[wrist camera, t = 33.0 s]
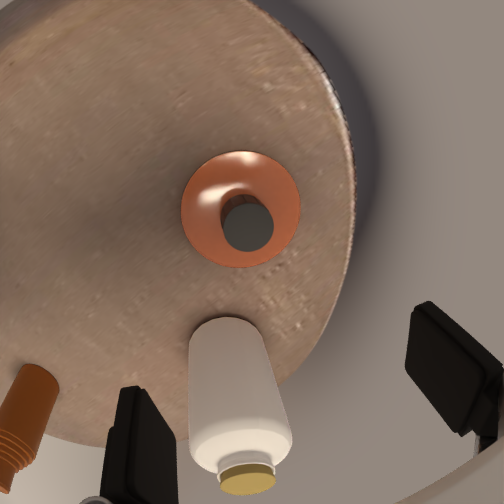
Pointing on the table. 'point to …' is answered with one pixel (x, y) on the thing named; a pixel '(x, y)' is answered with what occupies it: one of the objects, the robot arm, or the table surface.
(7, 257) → the table surface
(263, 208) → the cap
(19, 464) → the sauce bottle
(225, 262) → the orange round coaster
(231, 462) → the potion bottle
